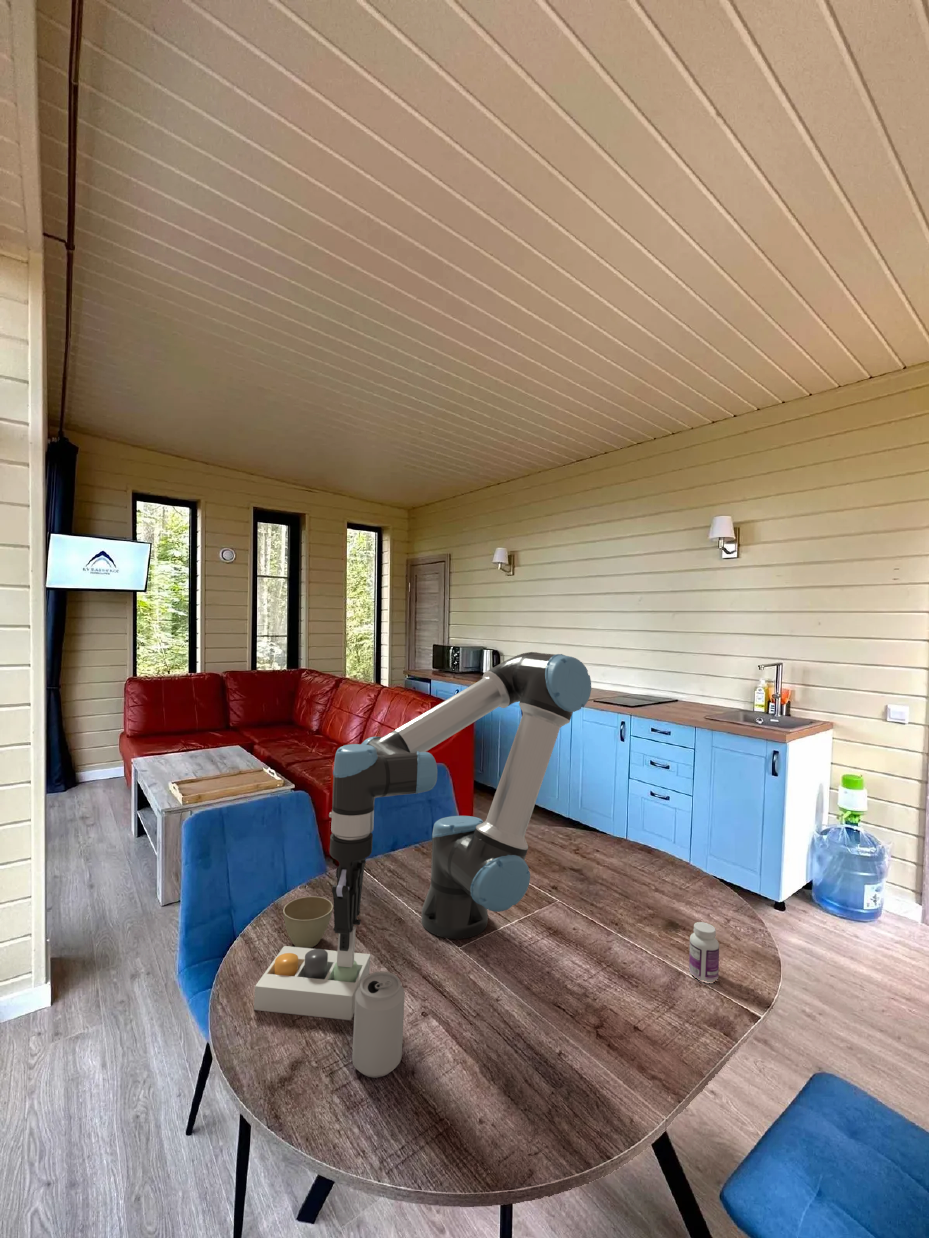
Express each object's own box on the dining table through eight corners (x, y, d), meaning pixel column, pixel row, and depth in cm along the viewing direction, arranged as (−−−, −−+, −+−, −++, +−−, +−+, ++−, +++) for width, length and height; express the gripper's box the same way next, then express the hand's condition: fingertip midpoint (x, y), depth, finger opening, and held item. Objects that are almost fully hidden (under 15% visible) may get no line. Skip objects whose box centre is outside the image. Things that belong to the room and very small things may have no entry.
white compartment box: (369, 975, 104) (370, 954, 104) (350, 1020, 92) (352, 996, 92) (283, 966, 105) (284, 945, 105) (253, 1009, 93) (255, 986, 93)
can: (354, 1043, 87) (358, 967, 87) (402, 1042, 87) (405, 966, 88) (348, 1082, 79) (352, 999, 80) (400, 1081, 80) (404, 998, 80)
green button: (358, 981, 100) (359, 959, 100) (352, 996, 96) (353, 973, 96) (337, 979, 100) (338, 957, 100) (330, 993, 96) (331, 971, 96)
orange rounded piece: (300, 975, 101) (301, 954, 101) (291, 989, 97) (293, 967, 97) (279, 973, 101) (280, 951, 101) (270, 987, 97) (271, 965, 97)
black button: (329, 971, 100) (330, 949, 100) (322, 985, 96) (323, 963, 96) (308, 969, 101) (309, 947, 101) (300, 983, 97) (301, 960, 97)
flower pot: (317, 959, 108) (319, 923, 108) (272, 951, 110) (273, 915, 110) (339, 932, 118) (340, 899, 118) (296, 925, 120) (298, 892, 120)
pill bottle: (716, 971, 110) (718, 923, 110) (719, 987, 105) (721, 936, 105) (687, 964, 112) (689, 917, 112) (689, 980, 107) (691, 930, 107)
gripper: (342, 818, 105) (336, 941, 105) (319, 844, 92) (311, 985, 92) (380, 821, 105) (374, 945, 104) (362, 848, 92) (355, 990, 91)
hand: (345, 964), depth 98 cm, fingers closed
